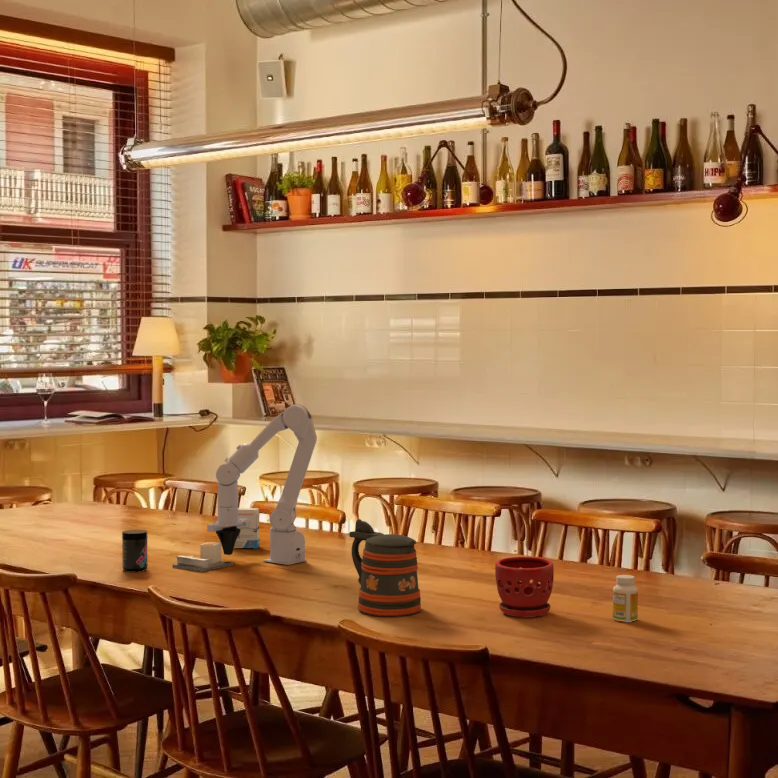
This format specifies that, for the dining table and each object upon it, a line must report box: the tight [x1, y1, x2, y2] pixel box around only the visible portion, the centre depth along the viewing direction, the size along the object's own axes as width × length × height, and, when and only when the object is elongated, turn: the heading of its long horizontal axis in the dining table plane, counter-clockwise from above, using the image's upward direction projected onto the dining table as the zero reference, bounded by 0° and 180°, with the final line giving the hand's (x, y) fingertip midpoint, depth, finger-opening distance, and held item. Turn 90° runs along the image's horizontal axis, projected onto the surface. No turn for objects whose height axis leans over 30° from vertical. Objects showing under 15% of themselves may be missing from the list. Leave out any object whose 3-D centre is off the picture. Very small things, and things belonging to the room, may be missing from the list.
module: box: [199, 541, 222, 564], centre depth 325 cm, size 4×5×5 cm
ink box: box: [234, 507, 261, 550], centre depth 352 cm, size 9×5×12 cm, turn 84°
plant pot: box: [494, 556, 555, 618], centre depth 266 cm, size 13×13×12 cm
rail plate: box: [172, 555, 234, 573], centre depth 322 cm, size 11×12×3 cm
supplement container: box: [121, 529, 149, 572], centre depth 317 cm, size 7×7×10 cm
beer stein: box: [348, 518, 422, 618], centre depth 271 cm, size 19×15×20 cm
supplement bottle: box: [612, 574, 639, 621], centre depth 261 cm, size 5×5×10 cm
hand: (228, 554), depth 331 cm, fingers closed
